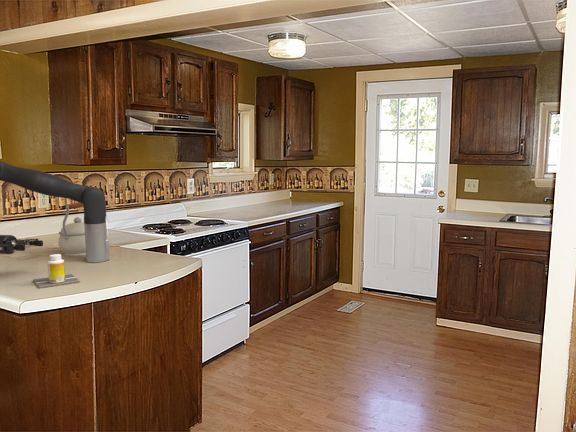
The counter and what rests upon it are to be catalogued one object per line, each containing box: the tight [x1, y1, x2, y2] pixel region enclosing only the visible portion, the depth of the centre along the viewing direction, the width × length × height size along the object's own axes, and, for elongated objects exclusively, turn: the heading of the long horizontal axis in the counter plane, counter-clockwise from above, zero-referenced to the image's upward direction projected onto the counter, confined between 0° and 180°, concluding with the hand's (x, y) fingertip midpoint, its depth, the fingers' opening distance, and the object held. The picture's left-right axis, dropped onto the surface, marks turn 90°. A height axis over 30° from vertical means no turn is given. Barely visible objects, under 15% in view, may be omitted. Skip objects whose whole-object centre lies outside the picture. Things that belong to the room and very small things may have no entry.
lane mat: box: [32, 273, 81, 289], centre depth 195 cm, size 14×14×1 cm
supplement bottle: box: [47, 253, 66, 283], centre depth 191 cm, size 6×6×10 cm
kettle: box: [58, 202, 86, 257], centre depth 251 cm, size 25×18×25 cm
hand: (33, 245), depth 196 cm, fingers open, 8 cm apart
